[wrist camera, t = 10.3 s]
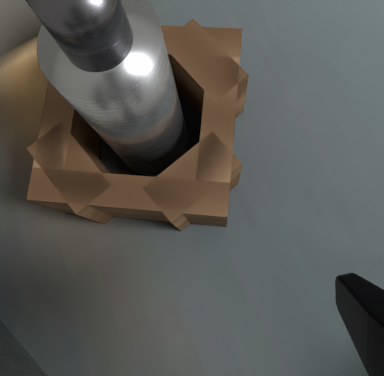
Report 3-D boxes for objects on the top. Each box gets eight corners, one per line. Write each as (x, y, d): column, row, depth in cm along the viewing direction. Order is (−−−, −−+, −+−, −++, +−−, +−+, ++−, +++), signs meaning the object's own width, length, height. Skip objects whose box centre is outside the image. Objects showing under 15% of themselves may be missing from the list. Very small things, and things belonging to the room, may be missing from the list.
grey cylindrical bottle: (159, 189, 20) (72, 82, 8) (104, 148, 21) (-45, -2, 9) (202, 133, 20) (178, -41, 9) (148, 95, 21) (59, -112, 10)
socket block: (233, 236, 19) (237, 228, 15) (54, 219, 20) (14, 208, 16) (246, 65, 21) (252, 20, 17) (82, 58, 22) (53, 13, 18)
